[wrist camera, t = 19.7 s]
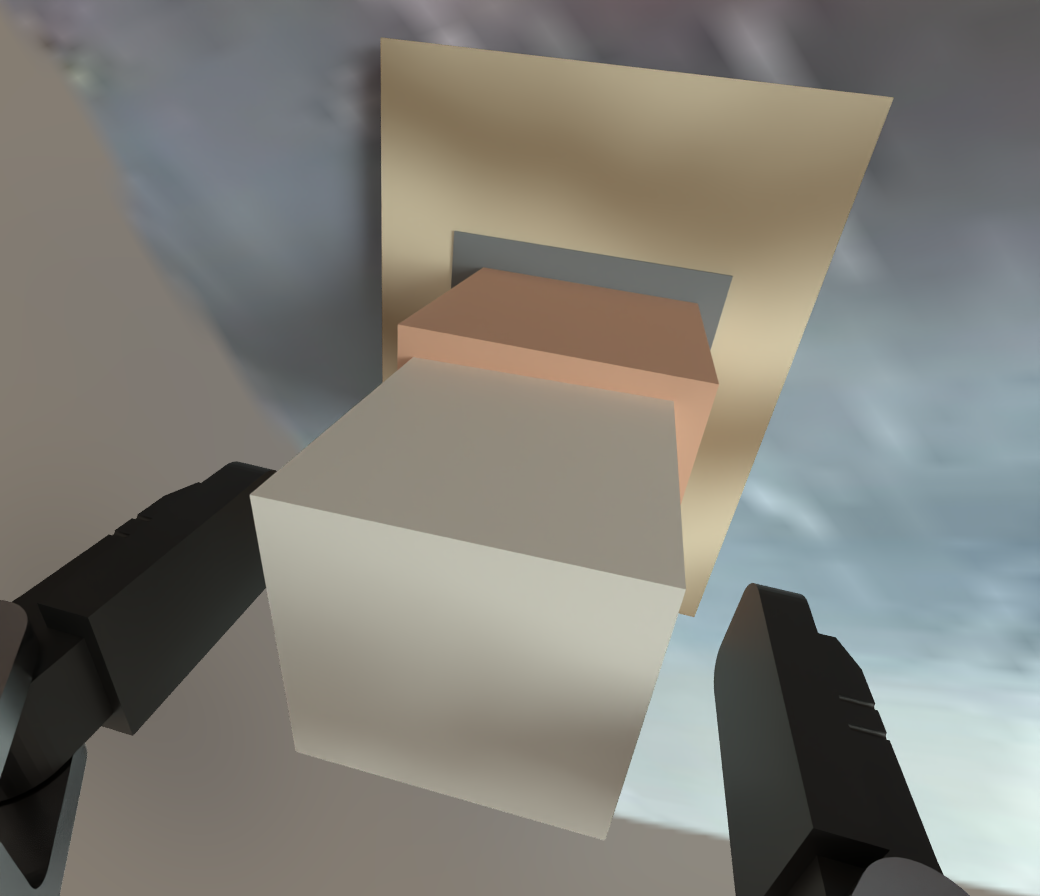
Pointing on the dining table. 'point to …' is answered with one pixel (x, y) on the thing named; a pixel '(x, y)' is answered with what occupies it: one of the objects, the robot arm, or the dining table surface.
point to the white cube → (479, 586)
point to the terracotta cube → (574, 342)
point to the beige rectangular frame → (627, 213)
